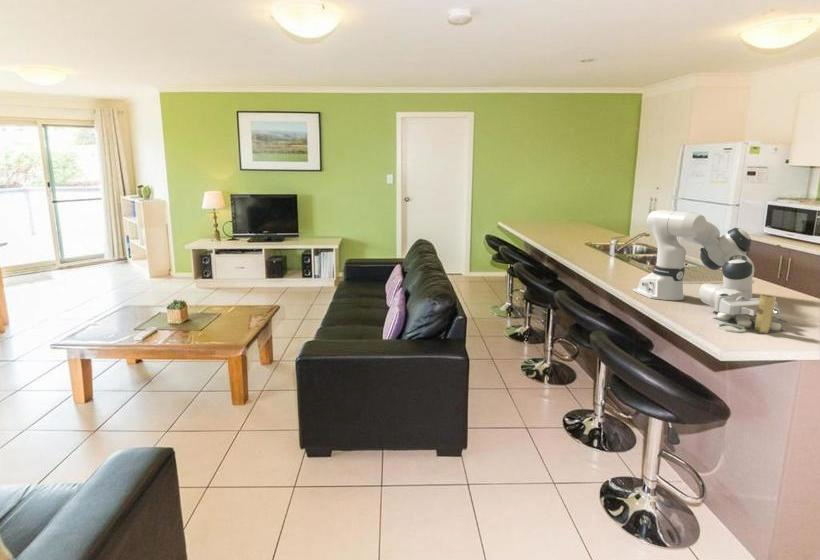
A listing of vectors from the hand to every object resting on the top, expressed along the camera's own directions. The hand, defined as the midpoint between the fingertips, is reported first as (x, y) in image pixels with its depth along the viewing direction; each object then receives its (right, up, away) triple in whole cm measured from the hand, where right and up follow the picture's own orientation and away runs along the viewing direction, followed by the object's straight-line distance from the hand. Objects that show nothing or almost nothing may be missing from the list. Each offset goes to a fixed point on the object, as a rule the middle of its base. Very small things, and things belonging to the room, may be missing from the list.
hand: (766, 312), depth 176 cm
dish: (-10, -7, +5) cm, 13 cm away
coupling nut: (-1, -7, +2) cm, 7 cm away
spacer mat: (0, -6, +10) cm, 11 cm away
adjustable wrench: (+15, -3, +23) cm, 27 cm away
